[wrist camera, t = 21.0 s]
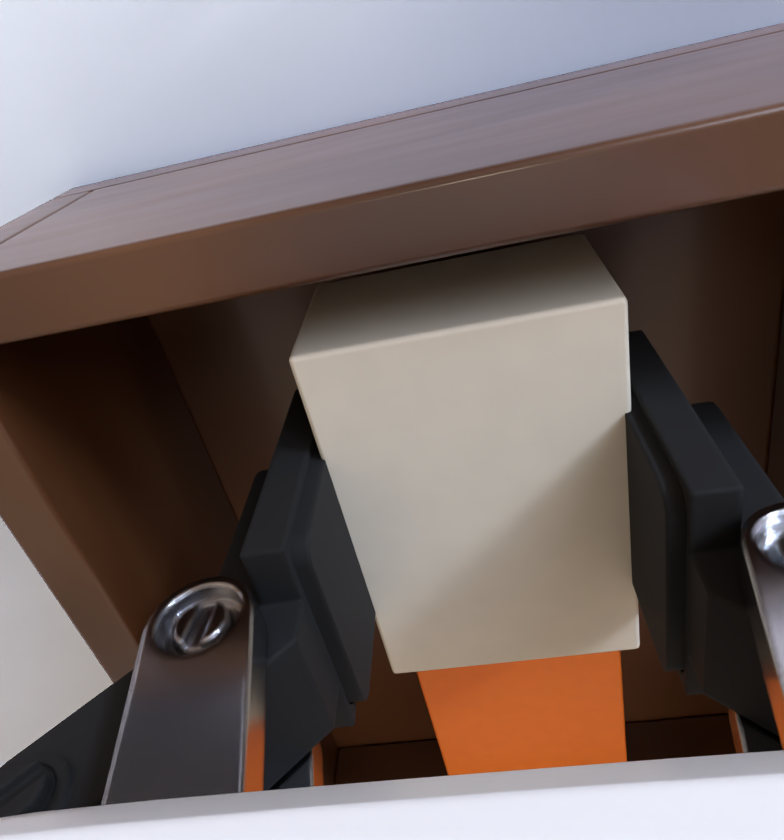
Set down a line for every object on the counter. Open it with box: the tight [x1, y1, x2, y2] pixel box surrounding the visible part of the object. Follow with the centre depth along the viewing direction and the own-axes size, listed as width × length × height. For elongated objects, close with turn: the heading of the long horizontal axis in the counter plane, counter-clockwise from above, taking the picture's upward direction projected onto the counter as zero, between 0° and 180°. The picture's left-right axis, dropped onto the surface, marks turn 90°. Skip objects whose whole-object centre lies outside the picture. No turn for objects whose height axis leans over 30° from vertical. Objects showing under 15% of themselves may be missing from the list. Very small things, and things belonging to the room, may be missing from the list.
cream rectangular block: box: [289, 234, 640, 674], centre depth 10 cm, size 4×6×2 cm, turn 12°
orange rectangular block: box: [417, 651, 627, 776], centre depth 15 cm, size 4×6×2 cm, turn 12°
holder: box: [0, 23, 784, 786], centre depth 13 cm, size 13×17×5 cm
